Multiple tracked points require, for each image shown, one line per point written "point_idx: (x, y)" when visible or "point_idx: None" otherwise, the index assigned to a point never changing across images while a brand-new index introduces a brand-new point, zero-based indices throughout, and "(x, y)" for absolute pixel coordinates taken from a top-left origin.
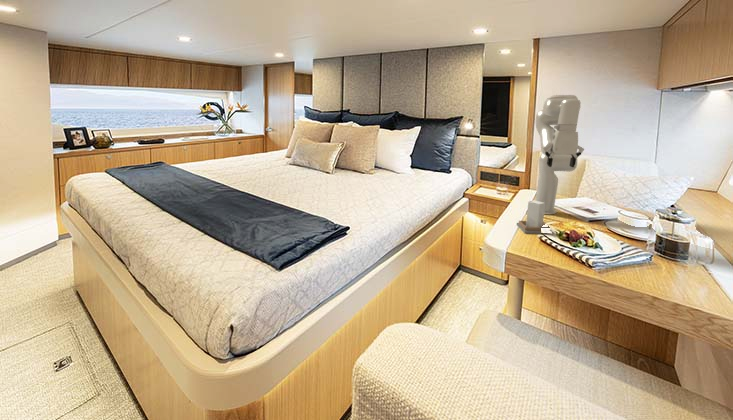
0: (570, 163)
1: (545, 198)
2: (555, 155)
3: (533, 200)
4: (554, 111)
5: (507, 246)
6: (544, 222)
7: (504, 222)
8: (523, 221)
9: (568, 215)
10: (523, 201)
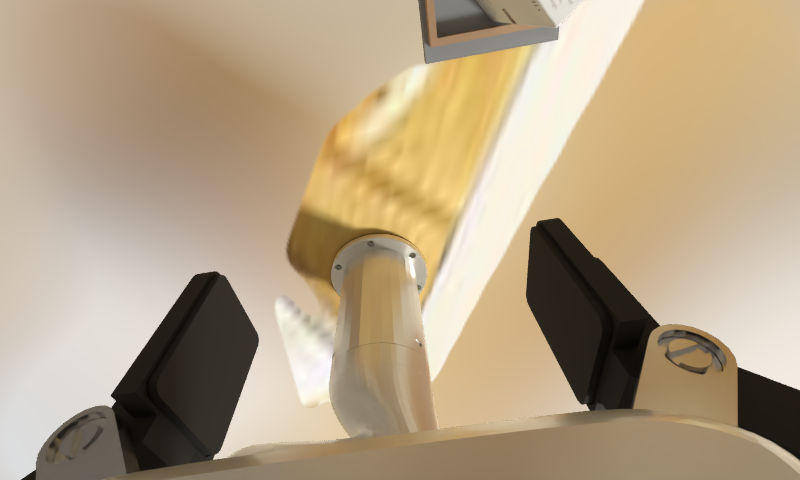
0: (239, 356)
1: (387, 287)
2: None
3: (565, 8)
4: None
5: None
6: (430, 25)
7: (600, 63)
8: None
9: (289, 247)
10: None
